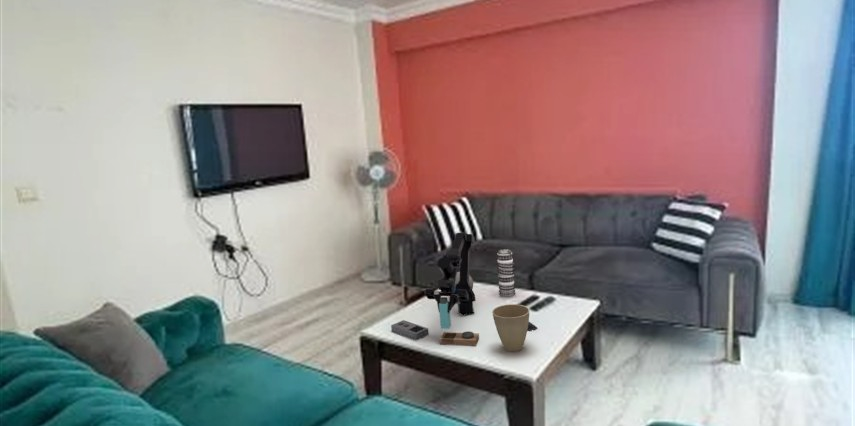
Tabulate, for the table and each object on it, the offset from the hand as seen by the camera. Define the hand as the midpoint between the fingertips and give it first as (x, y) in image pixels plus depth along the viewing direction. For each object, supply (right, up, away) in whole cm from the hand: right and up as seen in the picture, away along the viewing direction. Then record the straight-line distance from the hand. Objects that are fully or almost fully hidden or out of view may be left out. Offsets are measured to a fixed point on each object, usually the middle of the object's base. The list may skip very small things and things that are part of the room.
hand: (443, 312), depth 216 cm
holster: (+7, -13, +2) cm, 15 cm away
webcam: (+11, -4, +53) cm, 54 cm away
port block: (-15, -12, +16) cm, 25 cm away
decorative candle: (+35, -2, +51) cm, 62 cm away
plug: (+1, -7, +2) cm, 7 cm away
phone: (+36, -9, +13) cm, 39 cm away
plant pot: (+28, -13, -8) cm, 32 cm away
